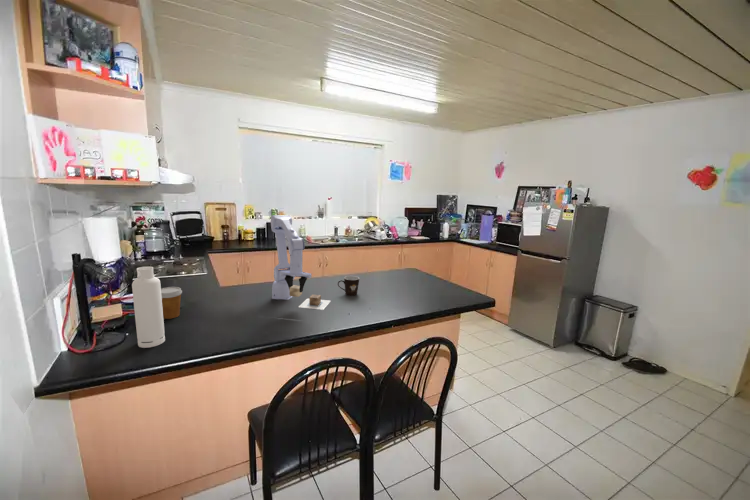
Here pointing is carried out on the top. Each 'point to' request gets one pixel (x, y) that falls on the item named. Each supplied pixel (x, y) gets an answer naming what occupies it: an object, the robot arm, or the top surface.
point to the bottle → (148, 308)
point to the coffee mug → (350, 285)
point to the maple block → (295, 291)
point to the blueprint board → (320, 306)
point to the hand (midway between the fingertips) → (296, 291)
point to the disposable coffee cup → (171, 302)
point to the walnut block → (315, 300)
